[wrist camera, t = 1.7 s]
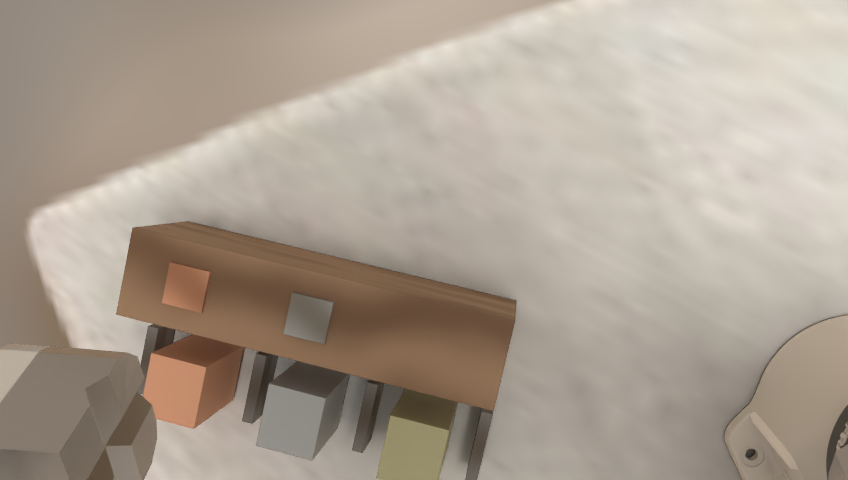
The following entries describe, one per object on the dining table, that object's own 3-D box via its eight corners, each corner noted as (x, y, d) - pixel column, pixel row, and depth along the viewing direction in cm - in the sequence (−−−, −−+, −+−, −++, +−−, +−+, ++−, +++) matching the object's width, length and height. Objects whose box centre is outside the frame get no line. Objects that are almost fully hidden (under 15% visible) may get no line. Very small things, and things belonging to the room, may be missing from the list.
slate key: (337, 427, 62) (312, 460, 55) (288, 414, 63) (255, 445, 55) (349, 372, 62) (325, 398, 54) (299, 359, 62) (268, 383, 55)
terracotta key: (233, 399, 63) (193, 428, 56) (184, 386, 64) (139, 414, 56) (244, 345, 63) (206, 367, 55) (195, 333, 63) (151, 353, 56)
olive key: (445, 455, 61) (434, 493, 54) (394, 442, 62) (376, 478, 54) (458, 400, 61) (449, 430, 54) (406, 387, 61) (390, 415, 54)
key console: (478, 467, 62) (470, 517, 52) (154, 382, 64) (92, 415, 55) (518, 301, 60) (517, 322, 51) (186, 221, 63) (128, 227, 54)
